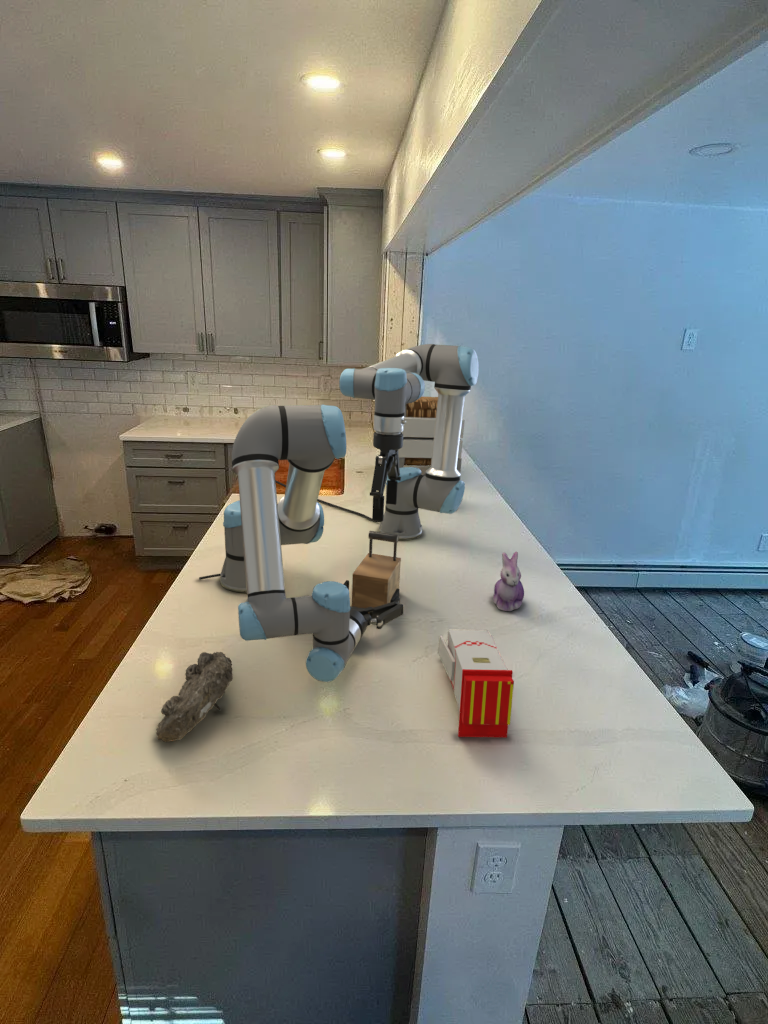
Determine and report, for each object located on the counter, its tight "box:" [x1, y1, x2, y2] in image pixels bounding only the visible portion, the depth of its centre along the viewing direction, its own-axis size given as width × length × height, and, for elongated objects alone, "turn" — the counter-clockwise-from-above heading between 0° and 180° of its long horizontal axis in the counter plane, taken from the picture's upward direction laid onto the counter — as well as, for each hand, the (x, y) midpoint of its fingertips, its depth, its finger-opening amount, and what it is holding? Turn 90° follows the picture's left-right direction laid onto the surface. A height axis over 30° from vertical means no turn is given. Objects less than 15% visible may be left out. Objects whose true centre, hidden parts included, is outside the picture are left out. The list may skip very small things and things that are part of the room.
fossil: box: [155, 651, 234, 743], centre depth 109 cm, size 22×10×15 cm
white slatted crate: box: [398, 396, 465, 475], centre depth 268 cm, size 34×33×41 cm
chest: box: [351, 561, 402, 613], centre depth 151 cm, size 14×9×10 cm
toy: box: [437, 628, 515, 738], centre depth 117 cm, size 12×13×30 cm
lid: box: [352, 530, 402, 583], centre depth 148 cm, size 14×9×9 cm
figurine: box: [492, 551, 525, 612], centre depth 152 cm, size 9×10×15 cm
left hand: (372, 588), depth 147 cm, fingers open, 13 cm apart
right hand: (384, 511), depth 149 cm, fingers open, 13 cm apart
